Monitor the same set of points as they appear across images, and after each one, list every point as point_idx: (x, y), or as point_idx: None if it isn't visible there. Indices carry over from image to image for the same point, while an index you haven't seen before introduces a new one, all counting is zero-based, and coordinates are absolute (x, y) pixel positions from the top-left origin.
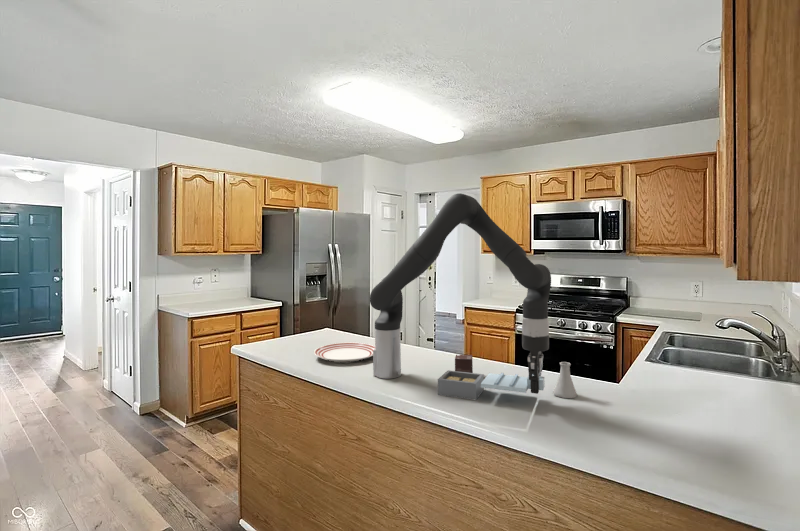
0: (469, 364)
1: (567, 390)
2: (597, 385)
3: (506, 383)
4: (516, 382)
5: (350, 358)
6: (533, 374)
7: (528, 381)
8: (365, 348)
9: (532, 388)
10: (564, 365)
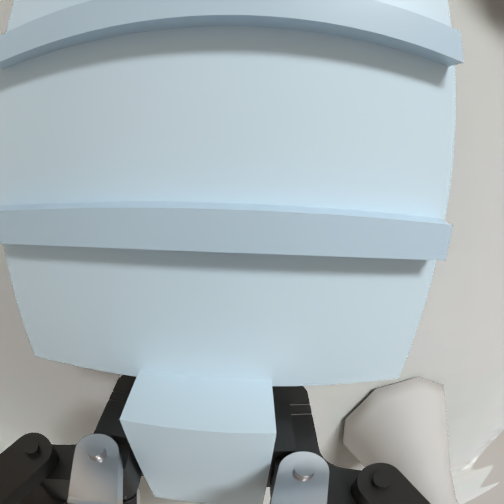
0: None
1: (362, 453)
2: (469, 447)
3: (70, 145)
4: (156, 262)
5: None
6: (277, 472)
7: (131, 406)
8: None
9: (115, 393)
10: None
